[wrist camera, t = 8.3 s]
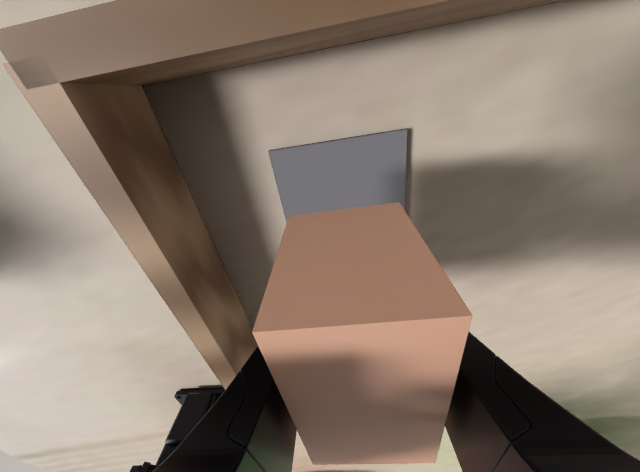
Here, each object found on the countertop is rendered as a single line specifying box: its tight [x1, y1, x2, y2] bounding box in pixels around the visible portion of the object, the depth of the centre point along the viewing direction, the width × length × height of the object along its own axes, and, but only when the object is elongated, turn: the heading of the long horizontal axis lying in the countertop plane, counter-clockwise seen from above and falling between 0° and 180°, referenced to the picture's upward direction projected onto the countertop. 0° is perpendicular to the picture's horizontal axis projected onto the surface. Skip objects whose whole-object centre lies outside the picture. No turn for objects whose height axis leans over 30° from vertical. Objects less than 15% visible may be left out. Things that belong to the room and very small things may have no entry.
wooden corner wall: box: [0, 0, 564, 390], centre depth 13 cm, size 22×22×4 cm
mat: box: [268, 129, 407, 222], centre depth 15 cm, size 10×7×1 cm
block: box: [252, 202, 472, 465], centre depth 8 cm, size 4×7×5 cm, turn 9°
